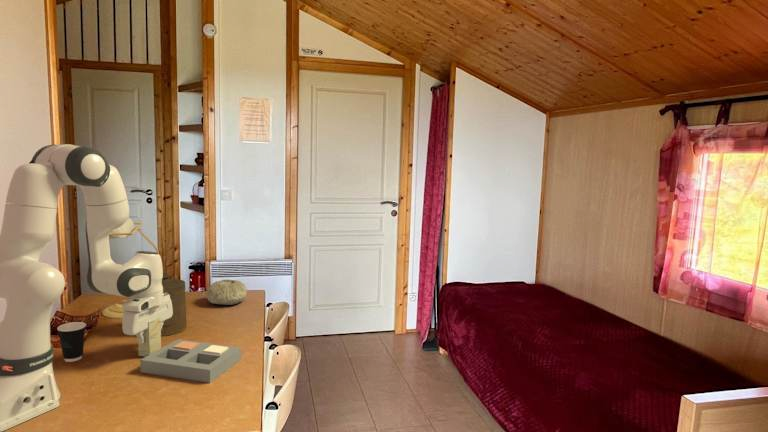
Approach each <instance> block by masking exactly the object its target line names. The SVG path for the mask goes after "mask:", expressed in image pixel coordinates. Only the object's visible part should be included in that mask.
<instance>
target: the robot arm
mask: <svg viewBox="0 0 768 432" xmlns="http://www.w3.org/2000/svg"><path fill="white" fill-rule="evenodd" d="M66 185H67V186H79V188H80V189H81V191H82V193H83V199H84V202H85V203H84V204H85V207H86V214H87V215H86V216H87V219H86V222H85V226H84V227H85V229H84V230H85V241H86V248H87V250H86V251H87V258H88V267H87V268H88V269H87V276H86V282H87V285H88V287H89V289H90V290H91V291H93V292H95V293H98V294H109V295H113V296H118V297H124V298H127V297H130V296H131V297H130V298H127V299H126V300H127V301H126V302H125V303H123V305H122V309H123V310H126V311H124V313H123V316H122V319H121V324H122V326H121V328H122V332H123V334H124V335H126V336H135V337H136V338H137V344H138V343H139V344H142V343H144V342H146V340H145V339H146V337H143V335H142V334H143V331H144V330H146V329H148V322H149V321H152V320H154V319H156V318H159V317H160V320H161V329H162V326H163V321H165V320H167V319H169V318H171V317H172V315H173V308H172V302H171V299H170V295H169V294H168V293H167V292H165V293H163V286H162V278H163V273H164V268H163V260H162V256H161V255H160V253H156V251H148V250H138V251H136V252H135V253H134V255H133V256H132V257H131V258H130V259H129V260H128V261H126V262H124V263H122V264H121V263H120V264H119V263H116V262H115V261H114V260H113V259H112V257H111V249H110V247H111V246H110V238H109V234H110V232H111V231H112V230H114V229H117V228H119V227H120V226H122V225H123V224H124V223H125V222H126V221H127V219H128V217H129V218H130V204H129V200H128V196H127V191H126V188H125V184H124V182H123V179H122V177H121V174H120V172H119V170H118V168H116V167H115V166H114V165H111V164H108V160H107V159H106V157H105V155H103V153H102V152H100V151H99V150H98V149H95V148H93V147H90V146H86V145H85V146H84V145H83V146H82V145H81V146H79V145H74V144H69V143H68V144H67V143H66V144H63V143H62V144H48V145H46V146H42V147H40V148H39V149H38V150H37V151H36V152H35V153H34V155H33V156H32V158H31V160H30V161H29V163H24V164H21V165H19V166H18V167H17V168H15V170H14V172H13V175H12V176H11V179H10V181H9V186H8V189H7V194H6V199H5V204H4V211H3V217H2V224H1V230H0V298H2V299H5V301H6V309H5V312H4V313H5V314H4V316H3V319H2V321H0V432H4V431H7V430H8V429H11V428H14V427H16V426H18V425H20V424H22V423H25V422H27V421H29V420H31V419H33V418H36V417H39V416H40V415H42V414H45V413H48V412H49V411H51V410H54V409H56V408H58V407H59V406H60V401H59V400H60V398H61V392H60V391H59V387H58V385H57V382H56V378H55V372H54V369H53V361H54V351H53V348H54V347H53V346H52V345H51V342H52V341H51V317H52V312H53V309H54V304H55V302H56V301H57V300H58V299H59V298H60V297H61V295H62V294H63V293H64V290H65V288H66V287H65V285H66V279H65V276H64V275H63V273H62V272H61V271H60V270H59V269H57V268H56V267H54V266H53V265H51V264H49V263H46V262H42V261H40V260H39V259H40V257H41V255H42V252H43V250H44V248H45V246H46V245H47V244H48V243H49V242H50V241H51V240H52V239H53V237H54V233H55V227H56V219H57V212H58V204H59V195H60V193H61V190H62V189H63V187H64V186H66Z"/></svg>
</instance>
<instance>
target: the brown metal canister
mask: <svg viewBox="0 0 768 432" xmlns="http://www.w3.org/2000/svg"><path fill="white" fill-rule="evenodd" d="M170 276H171V275H170V274H169V273H168V272H163V278H162V286H163V293H165V292H167V293H168V294H169V295H170V299H171V302H172V308H173V315H172V317H171V318H169V319H167V320H165V321H163V326H162V329H161V337H164V336H165V337H166V336H171V335H176V334H178V333H181V332H183V331H185V330H186V329H187V303H186V302H187V301H186V300H187V299H186V298H187V297H186V281H184V280H183V279H178V278H170Z"/></svg>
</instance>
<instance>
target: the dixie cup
mask: <svg viewBox="0 0 768 432" xmlns="http://www.w3.org/2000/svg"><path fill="white" fill-rule="evenodd" d="M86 327H87V323H85V322H81V321H74V322H67V323H63V324H60V325H59V326H58V327H57V328H56V330H57V331H58V336H59V341H60V346H61V352H62V356H63V359H64V361H65V363H67V362H68V363H69V362H71V363H72V362H76V361H77V362H78V361H80V360H81V359H82V358H83V354H84V349H85V348H84V346H85V335H86Z"/></svg>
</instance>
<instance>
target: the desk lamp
mask: <svg viewBox="0 0 768 432" xmlns="http://www.w3.org/2000/svg"><path fill="white" fill-rule="evenodd" d="M135 225H137V226H135ZM142 225H143V222H134V221H133V219H131V218H130V216H129V217H128V219H127V221H126V222H125V223H124V224H123V225H122V226H120V227H119V228H117V229H114V230H112V231H111V232H110V234H109V239H124V238H125V239H126V238H128V237H129V236H133V235H134V234H135V233H136V232H137V231H138V232H139V234H141V236H143V238H144V239H146V240H147V242H148V243H149V244H150V245H152V247H153V248H154V249H155V252H156V253H158V254H160V253H159V249H158V247H157V246H156V245H155V244H154V243H153V242H152V240H150V238H149V237H147V236H146V235H145V233H143V232H142V230H140V227H141V226H142ZM121 242H122V240H121ZM130 297H131V296H130ZM130 297H126V298H127V299H124V300H120V301H118V302H116V303H114V304H112V305H108V306H107V307H105V308H104V309H103V310H102V312H101V314H102V316H104V317H105V318H108V319H114V320H115V319H118V320H122V316H123V313H124V311H126V310H123V309H122V305H123V303H125V302H126V301H127V300H128V299H129V298H130Z"/></svg>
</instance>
